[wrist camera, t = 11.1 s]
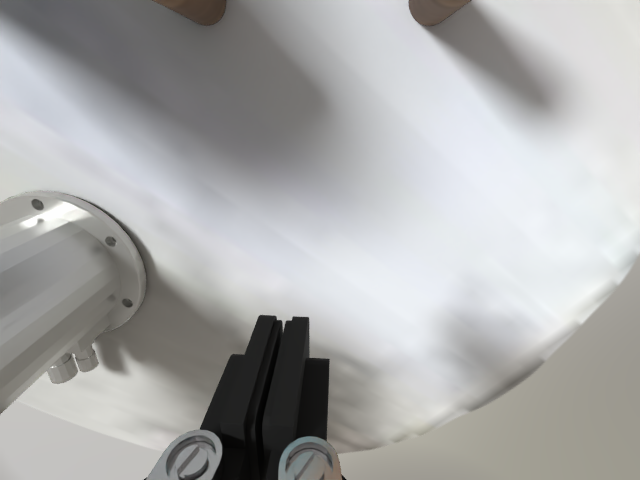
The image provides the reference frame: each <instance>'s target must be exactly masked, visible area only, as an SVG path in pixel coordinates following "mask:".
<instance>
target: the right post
mask: <svg viewBox="0 0 640 480" xmlns="http://www.w3.org/2000/svg"><path fill="white" fill-rule="evenodd" d="M470 1H471V0H409V9H410V12H411V14H412V16H413V18H414V19H415V20H416V21H417V22H418V23H420V24H422V25H425V26H433V25H436V24H439V23H440V22H442V21H443V20H445V19H446V18H448V17H449V16H450V15H452V14H453V13H455V12H456V11H457V10H459V9H460V8H461V7H463V6H464V5H466V4H467V3H468V2H470Z"/></svg>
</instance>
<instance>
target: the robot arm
mask: <svg viewBox="0 0 640 480" xmlns="http://www.w3.org/2000/svg"><path fill="white" fill-rule="evenodd" d="M145 291H146V273H145V269H144V264H143V261H142V259H141V257H140V254H139V252H138V250H137V248H136V246H135V245H134V243H133V242H132V240H131V239H130V237H129V236H128V235H127V234H126V232H125V231H124V230H123V229H122V228H121V227H120V226H119V225H118V224H117V223H116V222H115V221H114V220H113V219H111V218H110V217H109V216H108V215H107V214H105V213H104V212H103V211H101V210H99V209H98V208H96V207H95V206H93V205H91V204H90V203H88V202H85V201H83V200H81V199H78V198H76V197H74V196H71V195H67V194H63V193H59V192H52V191H34V192H26V193H23V194H20V195H16V196H13V197H10V198H8V199H6V200H4V201H2V202H0V414H1V413H2V412H3V411H4V410H5V409H6V408H7V407H8V406H10V405H11V404H12V403H13V402H14V401H15V400H16V399H17V398H18V397H19V396H20V395H21V394H22V393H23V392H25V391H26V390H27V389H28V388H29V387H30V386H31V385H32V384H33V383H34V382H35V381H36V380H37V379H38V378H39V377H40V376H42V375H43V374H44V373H45V372H46V371H47V373H48V375H49V377H50V380H51V382H52V383H54V384H60V383H64V382H66V381H69V380H71V379H72V378H73V377H74V376H76V374H77V373H78V368H77V365H76V363H75V360H74V358H73V355H72V353H73V354H75V356H76V357H75V358H76V361H77V364H78V367H79V369H80V371H81V372H88V371H91V370H93V369H94V368H96V367H97V366H98V364H99V362H98V359H97V357H96V354H95V351H94V349H93V348H92V344H93V343H94V340H95V339H96V338H97V337H98V336H99V335H100V334H101V333H104V332H108V331H112V330H114V329H116V328H118V327H120V326H122V325H123V324H124V323H125V322H126V321H128V320H129V319H130V318H131V317H132V316H133V315H134V313H135V312H136V311H137V310H138V309H139V307H140V305H141V303H142V301H143V299H144V296H145ZM328 389H329V359H320V358H309V317H293V318H292V321H286V324H285V328H284V332H283V327H282V320H277V318H276V316H269V315H260V316H259V317H258V320H257V322H256V325H255V328H254V331H253V333H252V336H251V339H250V341H249V344H248V347H247V350H246V352H245V355H239V354H232V355H231V357H230V359H229V361H228V363H227V365H226V368H225V370H224V373H223V375H222V377H221V380H220V382H219V384H218V387H217V389H216V392H215V394H214V396H213V399H212V401H211V403H210V406H209V408H208V411H207V413H206V415H205V418H204V420H203V423H202V425H201V427H200V430H194V431H190V432H187V433H185V434H183V435H181V436H179V437H178V438H177V439H176V440H174V441H173V442H172V443H171V444H170V445H169V446H168V447H167V449H166V450H165V451H164V453H163V454H162V456H161V457H160V459H159V460H158V462H157V463H156V465H155V467H154V468H153V470H152V471H151V473H150V474H149V476H148V477H147V478H145V479H144V480H346V479H345V478H344V477H343V476H342V474H341V468H340V462H339V459H338V455H337V453H336V451H335V450H334V448H333V447H332V446H331V445H330V444H329V443H328V442H326V441H327V416H328Z"/></svg>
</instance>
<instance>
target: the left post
mask: <svg viewBox="0 0 640 480" xmlns="http://www.w3.org/2000/svg"><path fill="white" fill-rule="evenodd" d="M153 1H155V2H157V3H159V4H161V5H163V6H165V7H167V8H169V9H171V10H173V11H175V12H176V13H178V14H180V15H182V16H184V17H186V18H188V19H190V20H192V21H194V22H196V23H198V24H201V25H212V24H215V23H216V22H218V21H219V20H220V19H221V17H222V16H223V14H224V11H225V7H226V0H153Z"/></svg>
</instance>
